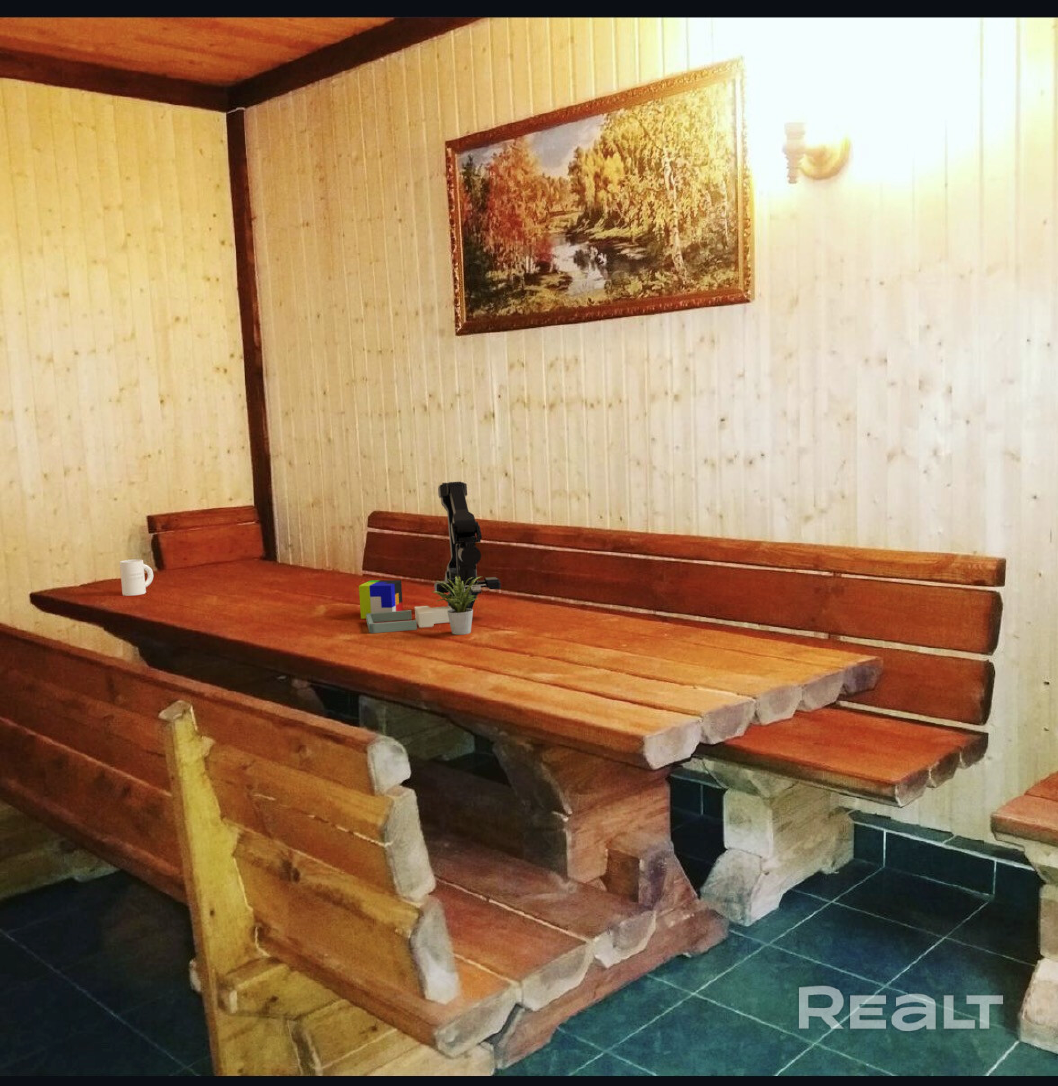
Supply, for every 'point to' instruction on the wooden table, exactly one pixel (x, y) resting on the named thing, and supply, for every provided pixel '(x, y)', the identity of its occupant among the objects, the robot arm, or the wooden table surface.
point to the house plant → (459, 606)
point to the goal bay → (390, 625)
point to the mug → (134, 577)
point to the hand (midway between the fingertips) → (468, 614)
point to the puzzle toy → (380, 597)
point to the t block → (431, 615)
